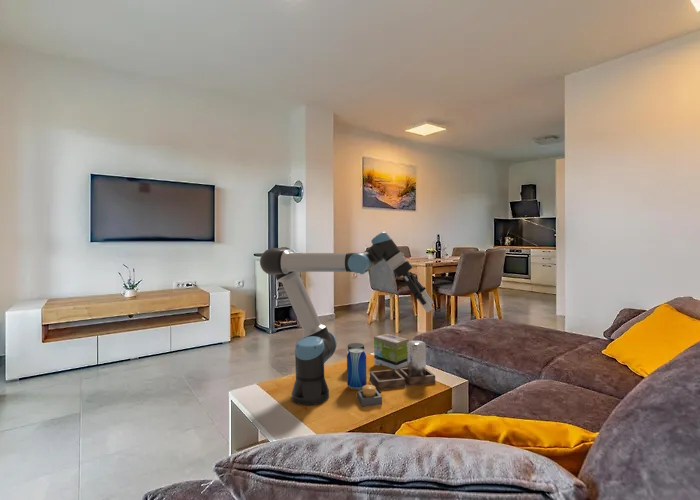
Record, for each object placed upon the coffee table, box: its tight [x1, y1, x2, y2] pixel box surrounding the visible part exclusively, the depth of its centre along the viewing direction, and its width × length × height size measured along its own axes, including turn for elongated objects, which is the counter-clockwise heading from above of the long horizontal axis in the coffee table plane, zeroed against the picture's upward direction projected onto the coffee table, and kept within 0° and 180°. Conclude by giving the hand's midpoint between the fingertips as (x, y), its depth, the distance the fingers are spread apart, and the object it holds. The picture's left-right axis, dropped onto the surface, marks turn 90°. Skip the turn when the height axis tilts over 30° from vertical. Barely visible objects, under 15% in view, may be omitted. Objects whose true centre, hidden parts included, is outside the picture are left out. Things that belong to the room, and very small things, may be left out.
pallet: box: [368, 367, 437, 395], centre depth 158 cm, size 26×14×4 cm, turn 104°
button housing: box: [356, 389, 383, 408], centre depth 142 cm, size 8×8×3 cm
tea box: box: [373, 333, 410, 371], centre depth 180 cm, size 15×10×15 cm
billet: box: [407, 340, 427, 377], centre depth 160 cm, size 8×8×16 cm
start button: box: [362, 384, 376, 398], centre depth 142 cm, size 5×5×3 cm
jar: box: [346, 342, 366, 355], centre depth 177 cm, size 9×8×12 cm
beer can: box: [346, 348, 368, 391], centre depth 156 cm, size 8×8×16 cm
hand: (430, 307), depth 146 cm, fingers open, 13 cm apart
